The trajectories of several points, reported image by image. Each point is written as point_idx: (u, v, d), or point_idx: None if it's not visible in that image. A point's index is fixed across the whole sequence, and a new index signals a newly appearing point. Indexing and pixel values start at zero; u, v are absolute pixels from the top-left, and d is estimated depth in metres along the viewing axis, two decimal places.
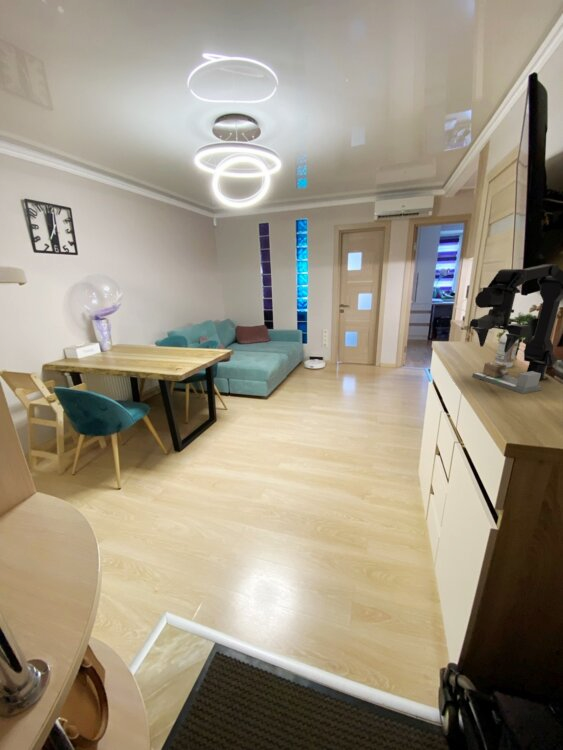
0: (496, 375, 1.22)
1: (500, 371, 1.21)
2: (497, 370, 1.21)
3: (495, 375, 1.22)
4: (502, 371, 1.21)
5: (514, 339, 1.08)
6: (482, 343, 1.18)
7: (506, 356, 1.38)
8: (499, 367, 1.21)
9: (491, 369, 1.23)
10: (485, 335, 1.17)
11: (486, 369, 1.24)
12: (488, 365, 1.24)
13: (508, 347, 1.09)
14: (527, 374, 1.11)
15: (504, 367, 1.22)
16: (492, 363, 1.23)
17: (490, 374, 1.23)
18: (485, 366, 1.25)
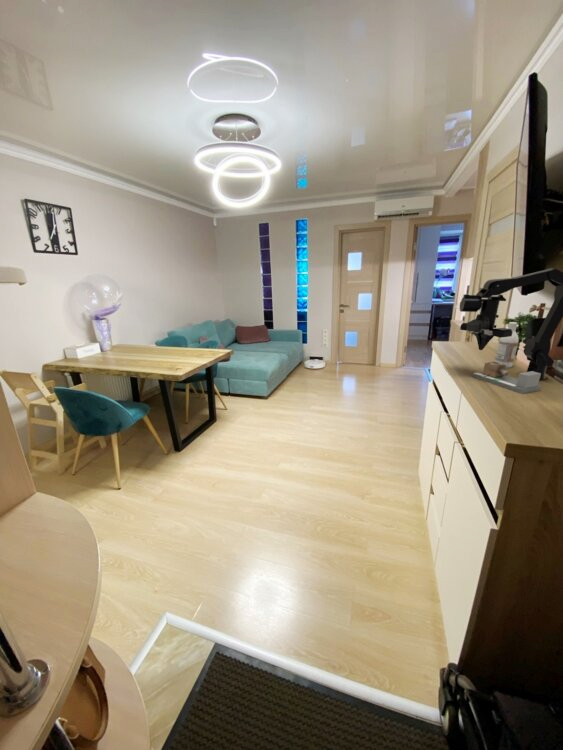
0: (496, 375, 1.22)
1: (500, 371, 1.21)
2: (497, 370, 1.21)
3: (495, 375, 1.22)
4: (502, 371, 1.21)
5: (488, 339, 1.26)
6: None
7: (506, 356, 1.38)
8: (499, 367, 1.21)
9: (491, 369, 1.23)
10: None
11: (486, 369, 1.24)
12: (488, 365, 1.24)
13: (483, 345, 1.27)
14: (527, 374, 1.11)
15: (504, 367, 1.22)
16: (492, 363, 1.23)
17: (490, 374, 1.23)
18: (485, 366, 1.25)
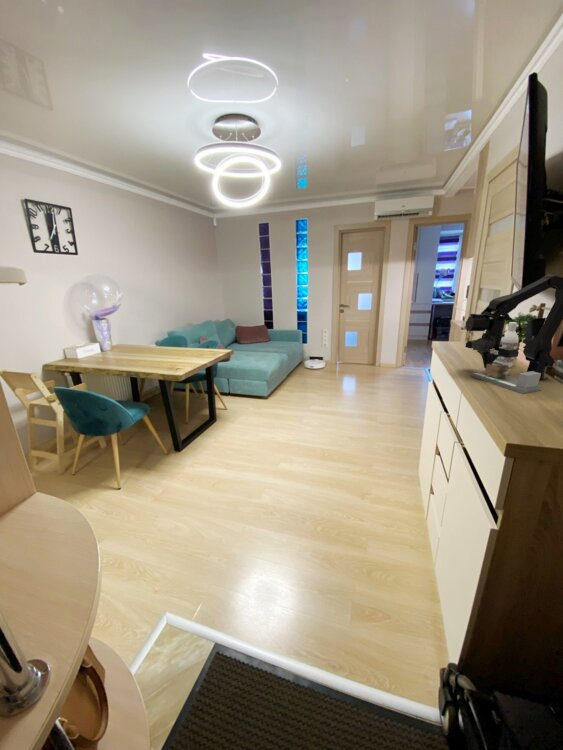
0: (498, 376, 1.21)
1: (502, 372, 1.21)
2: (499, 371, 1.21)
3: (497, 376, 1.21)
4: (504, 372, 1.20)
5: (493, 358, 1.25)
6: None
7: None
8: (501, 368, 1.20)
9: (493, 369, 1.22)
10: None
11: (488, 370, 1.24)
12: (490, 366, 1.23)
13: None
14: (527, 374, 1.11)
15: (506, 368, 1.21)
16: (494, 364, 1.22)
17: (492, 375, 1.22)
18: (487, 367, 1.24)
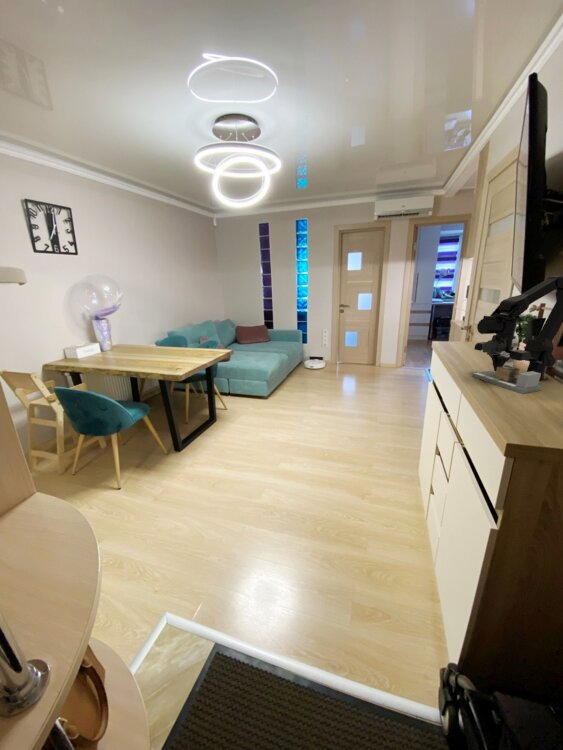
0: (509, 379, 1.17)
1: (513, 375, 1.17)
2: (510, 374, 1.17)
3: (508, 379, 1.17)
4: (515, 375, 1.16)
5: (504, 360, 1.21)
6: (496, 368, 1.23)
7: None
8: (512, 371, 1.17)
9: (504, 373, 1.18)
10: None
11: (498, 373, 1.20)
12: (501, 369, 1.19)
13: None
14: (527, 374, 1.11)
15: (517, 371, 1.18)
16: (505, 367, 1.19)
17: (503, 378, 1.19)
18: (497, 370, 1.20)
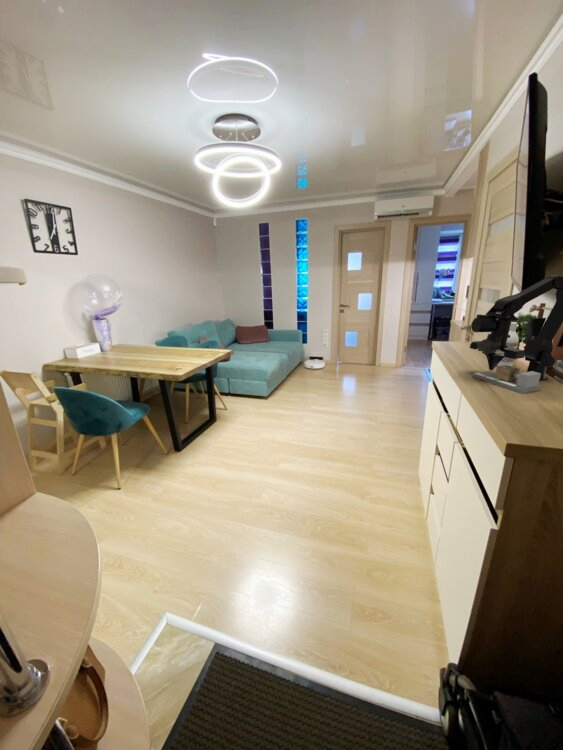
0: (509, 379, 1.17)
1: (513, 375, 1.17)
2: (510, 374, 1.17)
3: (508, 379, 1.17)
4: (516, 375, 1.16)
5: (499, 359, 1.23)
6: None
7: None
8: (512, 371, 1.17)
9: (504, 373, 1.18)
10: None
11: (499, 373, 1.20)
12: (501, 369, 1.19)
13: (494, 366, 1.24)
14: (527, 374, 1.11)
15: (517, 371, 1.18)
16: (505, 367, 1.19)
17: (503, 378, 1.19)
18: (497, 370, 1.20)
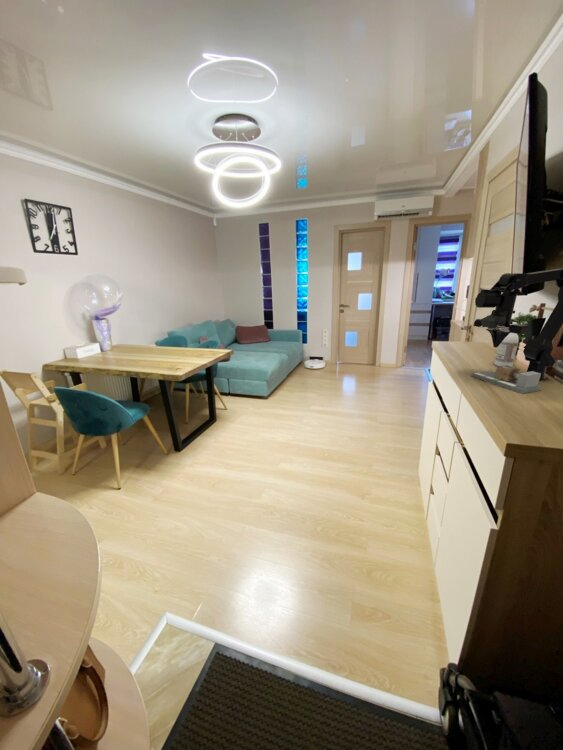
0: (509, 379, 1.17)
1: (513, 375, 1.17)
2: (510, 374, 1.17)
3: (508, 379, 1.17)
4: (516, 375, 1.16)
5: (503, 336, 1.20)
6: None
7: (506, 356, 1.38)
8: (512, 371, 1.17)
9: (504, 373, 1.18)
10: None
11: (499, 373, 1.20)
12: (501, 369, 1.19)
13: (498, 343, 1.21)
14: (527, 374, 1.11)
15: (517, 371, 1.18)
16: (505, 367, 1.19)
17: (503, 378, 1.19)
18: (497, 370, 1.20)
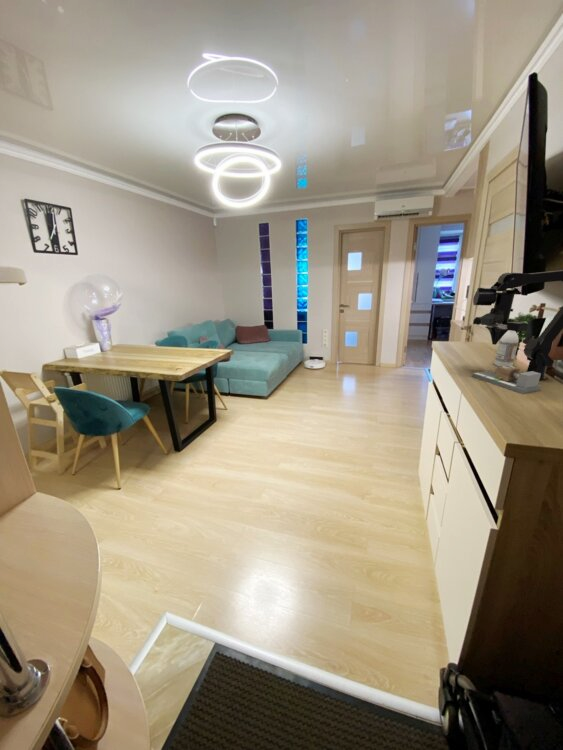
0: (509, 379, 1.17)
1: (513, 375, 1.17)
2: (510, 374, 1.17)
3: (508, 379, 1.17)
4: (516, 375, 1.16)
5: (502, 333, 1.24)
6: None
7: (506, 356, 1.38)
8: (512, 371, 1.17)
9: (504, 373, 1.18)
10: None
11: (499, 373, 1.20)
12: (501, 369, 1.19)
13: (497, 340, 1.26)
14: (527, 374, 1.11)
15: (517, 371, 1.18)
16: (505, 367, 1.19)
17: (503, 378, 1.19)
18: (497, 370, 1.20)
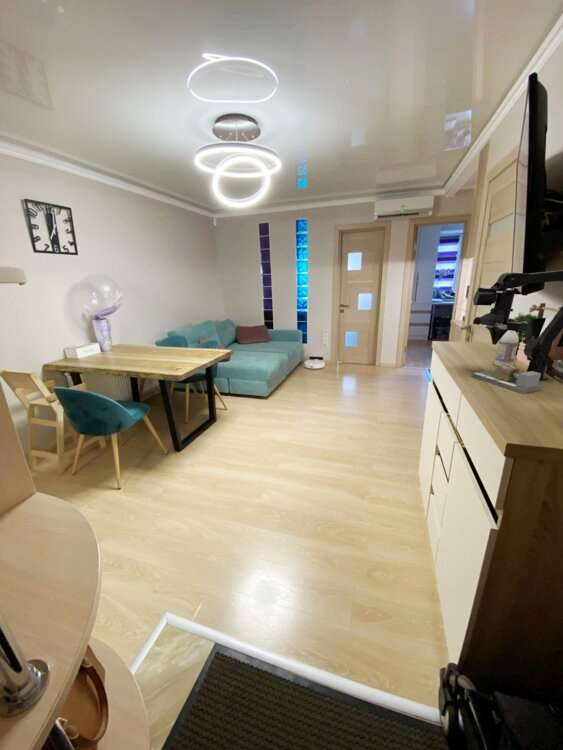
0: (509, 379, 1.17)
1: (513, 375, 1.17)
2: (510, 374, 1.17)
3: (508, 379, 1.17)
4: (516, 375, 1.16)
5: (502, 333, 1.24)
6: None
7: (506, 356, 1.38)
8: (512, 371, 1.17)
9: (504, 373, 1.18)
10: None
11: (499, 373, 1.20)
12: (501, 369, 1.19)
13: (497, 340, 1.26)
14: (527, 374, 1.11)
15: (517, 371, 1.18)
16: (505, 367, 1.19)
17: (503, 378, 1.19)
18: (497, 370, 1.20)
